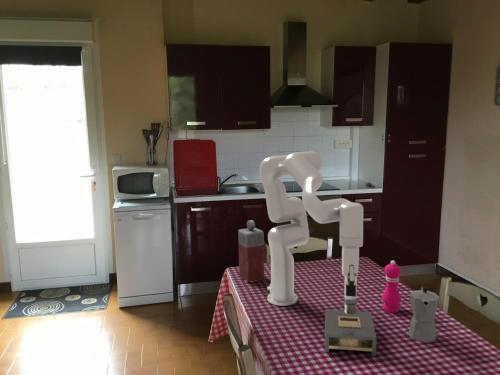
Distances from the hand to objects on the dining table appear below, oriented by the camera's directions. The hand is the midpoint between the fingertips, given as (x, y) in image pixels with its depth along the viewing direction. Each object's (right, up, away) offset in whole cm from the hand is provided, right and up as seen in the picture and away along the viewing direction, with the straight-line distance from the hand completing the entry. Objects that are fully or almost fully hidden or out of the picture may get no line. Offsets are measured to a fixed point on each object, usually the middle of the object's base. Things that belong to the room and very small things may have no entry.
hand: (350, 292), depth 149 cm
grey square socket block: (0, -17, +3) cm, 17 cm away
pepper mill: (+22, -13, +26) cm, 36 cm away
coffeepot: (+26, -16, +6) cm, 32 cm away
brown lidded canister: (-32, -8, +61) cm, 69 cm away
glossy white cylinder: (0, -7, +1) cm, 7 cm away
